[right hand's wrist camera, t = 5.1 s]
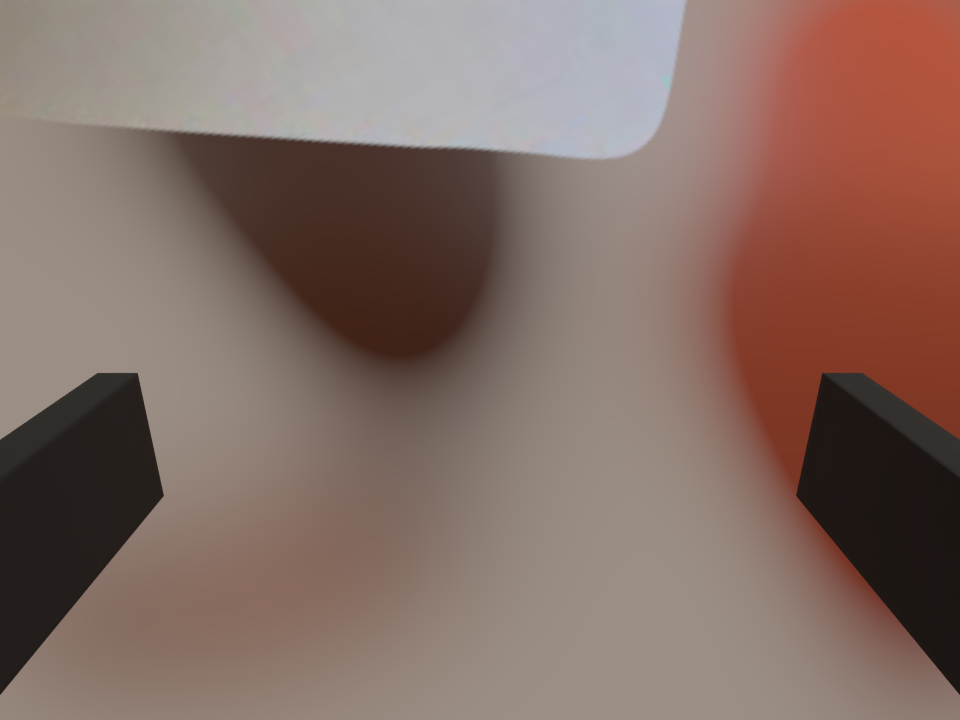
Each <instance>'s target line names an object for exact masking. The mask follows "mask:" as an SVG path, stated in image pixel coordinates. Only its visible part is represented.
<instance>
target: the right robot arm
mask: <svg viewBox="0 0 960 720" xmlns="http://www.w3.org/2000/svg"><path fill="white" fill-rule="evenodd" d="M163 496H164V495H163V490H162V485H161V481H160V476H159V471H158V467H157V462H156V457H155V453H154V448H153V443H152V438H151V434H150V429H149V424H148V420H147V415H146V410H145V406H144V401H143V396H142V392H141V387H140V382H139V378H138V373H97V374H96V375H94V376H93V377H91V378H90V379H88V380H87V381H85V382H84V383H82V384H81V385H80V386H78V387H77V388H75V389H74V390H72V391H71V392H69V393H68V394H66V395H65V396H64V397H62V398H61V399H59V400H58V401H56V402H55V403H53V404H52V405H50V406H49V407H47V408H46V409H45V410H43V411H42V412H40V413H39V414H37V415H36V416H34V417H33V418H31V419H30V420H29V421H27V422H26V423H24V424H23V425H21V426H20V427H18V428H17V429H15V430H14V431H12V432H11V433H10V434H8V435H7V436H5V437H4V438H2V439H1V440H0V694H1V693H2V692H3V691H4V690H5V688H6V687H7V686H8V685H9V684H10V682H11V681H12V680H13V679H14V677H15V676H16V675H17V674H18V673H19V671H20V670H21V669H22V668H23V666H24V665H25V664H26V663H27V662H28V660H29V659H30V658H31V657H32V656H33V654H34V653H35V652H36V651H37V649H38V648H39V647H40V646H41V645H42V643H43V642H44V641H45V640H46V638H47V637H48V636H49V635H50V634H51V632H52V631H53V630H54V629H55V628H56V626H57V625H58V624H59V623H60V621H61V620H62V619H63V618H64V616H65V615H66V614H67V613H68V612H69V610H70V609H71V608H72V607H73V606H74V604H75V603H76V602H77V601H78V600H79V598H80V597H81V596H82V595H83V593H84V592H85V591H86V590H87V589H88V587H89V586H90V585H91V584H92V582H93V581H94V580H95V579H96V578H97V576H98V575H99V574H100V573H101V572H102V570H103V569H104V568H105V567H106V565H107V564H108V563H109V562H110V561H111V559H112V558H113V557H114V556H115V555H116V553H117V552H118V551H119V550H120V548H121V547H122V546H123V545H124V544H125V542H126V541H127V540H128V539H129V537H130V536H131V535H132V534H133V533H134V531H135V530H136V529H137V528H138V526H139V525H140V524H141V523H142V522H143V520H144V519H145V518H146V517H147V515H148V514H149V513H150V512H151V511H152V509H153V508H154V507H155V506H156V505H157V503H158V502H159V501H160V500H161V498H162V497H163ZM796 496H797V497H798V498H799V500H800V501H801V502H802V503H803V505H804V506H805V507H806V508H807V509H808V511H809V512H810V513H811V514H812V516H813V517H814V518H815V519H816V520H817V522H818V523H819V524H820V525H821V527H822V528H823V529H824V530H825V531H826V533H827V534H828V535H829V536H830V537H831V539H832V540H833V541H834V542H835V543H836V545H837V546H838V547H839V548H840V550H841V551H842V552H843V553H844V555H845V556H846V557H847V558H848V559H849V561H850V562H851V563H852V564H853V565H854V567H855V568H856V569H857V570H858V571H859V573H860V574H861V575H862V576H863V578H864V579H865V580H866V581H867V582H868V584H869V585H870V586H871V587H872V589H873V590H874V591H875V592H876V593H877V595H878V596H879V597H880V598H881V600H882V601H883V602H884V603H885V604H886V606H887V607H888V608H889V609H890V610H891V612H892V613H893V614H894V615H895V617H896V618H897V619H898V620H899V621H900V623H901V624H902V625H903V626H904V628H905V629H906V630H907V631H908V632H909V634H910V635H911V636H912V637H913V638H914V640H915V641H916V642H917V643H918V645H919V646H920V647H921V648H922V649H923V651H924V652H925V653H926V654H927V656H928V657H929V658H930V659H931V660H932V662H933V663H934V664H935V665H936V666H937V668H938V669H939V670H940V671H941V673H942V674H943V675H944V676H945V677H946V679H947V680H948V681H949V682H950V684H951V685H952V686H953V687H954V688H955V690H956V691H957V692H958V693H959V694H960V440H959V439H958V438H956V437H955V436H953V435H952V434H950V433H949V432H948V431H946V430H945V429H943V428H942V427H940V426H939V425H937V424H936V423H934V422H933V421H932V420H930V419H929V418H927V417H926V416H924V415H923V414H921V413H920V412H918V411H917V410H915V409H914V408H912V407H911V406H910V405H908V404H907V403H905V402H904V401H902V400H901V399H899V398H898V397H896V396H895V395H894V394H892V393H891V392H889V391H888V390H886V389H885V388H883V387H882V386H880V385H879V384H878V383H876V382H875V381H873V380H872V379H870V378H869V377H867V376H866V375H864V374H863V373H822V378H821V382H820V387H819V392H818V396H817V401H816V406H815V410H814V415H813V420H812V424H811V429H810V434H809V438H808V443H807V448H806V452H805V457H804V462H803V467H802V471H801V476H800V481H799V485H798V490H797V495H796Z"/></svg>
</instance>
